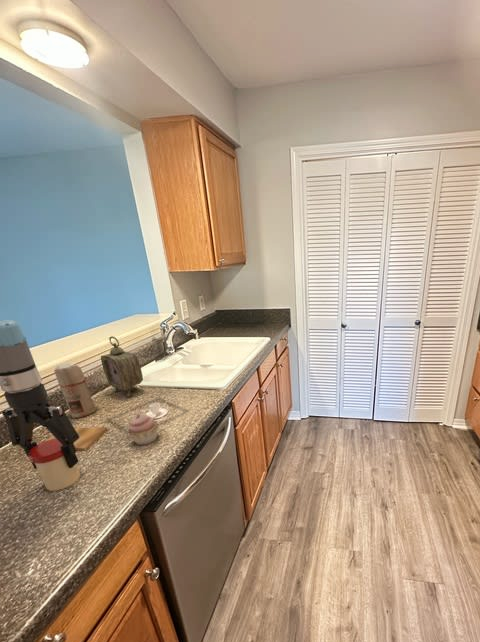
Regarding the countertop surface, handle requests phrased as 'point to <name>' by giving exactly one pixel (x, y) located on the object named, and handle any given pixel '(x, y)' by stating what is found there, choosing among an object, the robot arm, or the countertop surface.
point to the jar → (57, 474)
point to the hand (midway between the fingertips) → (56, 465)
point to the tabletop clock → (121, 368)
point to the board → (85, 437)
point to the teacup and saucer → (156, 411)
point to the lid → (46, 452)
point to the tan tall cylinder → (75, 390)
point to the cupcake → (143, 429)
